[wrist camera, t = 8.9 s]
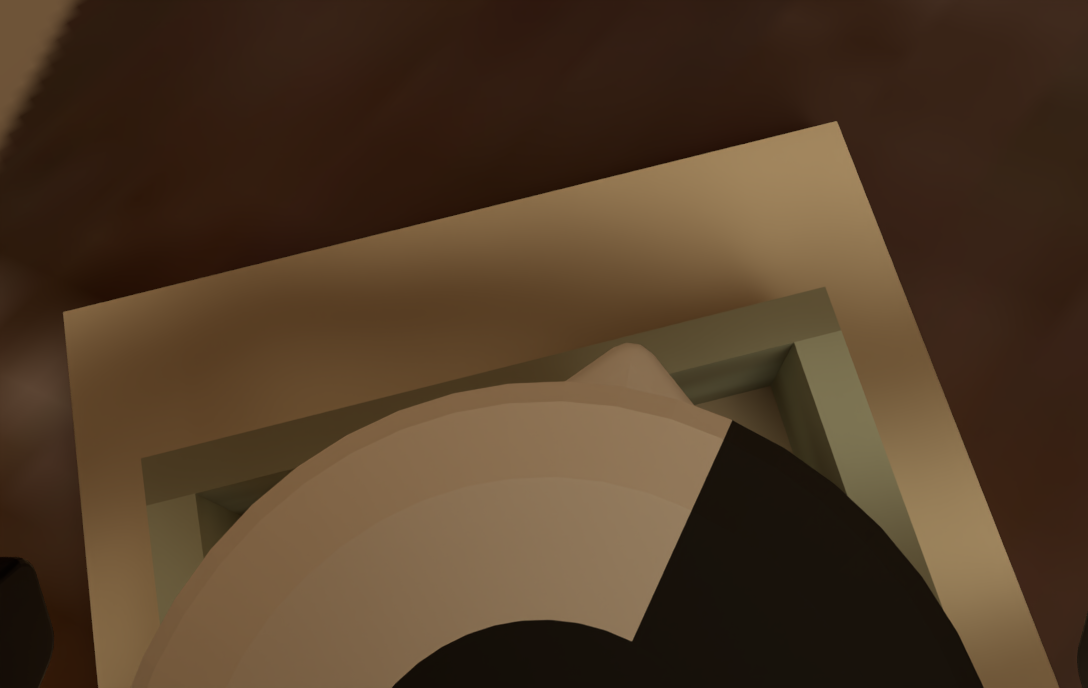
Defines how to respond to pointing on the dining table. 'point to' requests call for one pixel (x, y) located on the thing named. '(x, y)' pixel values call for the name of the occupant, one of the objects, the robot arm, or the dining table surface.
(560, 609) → the medicine bottle
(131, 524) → the holder board
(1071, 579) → the dining table surface
